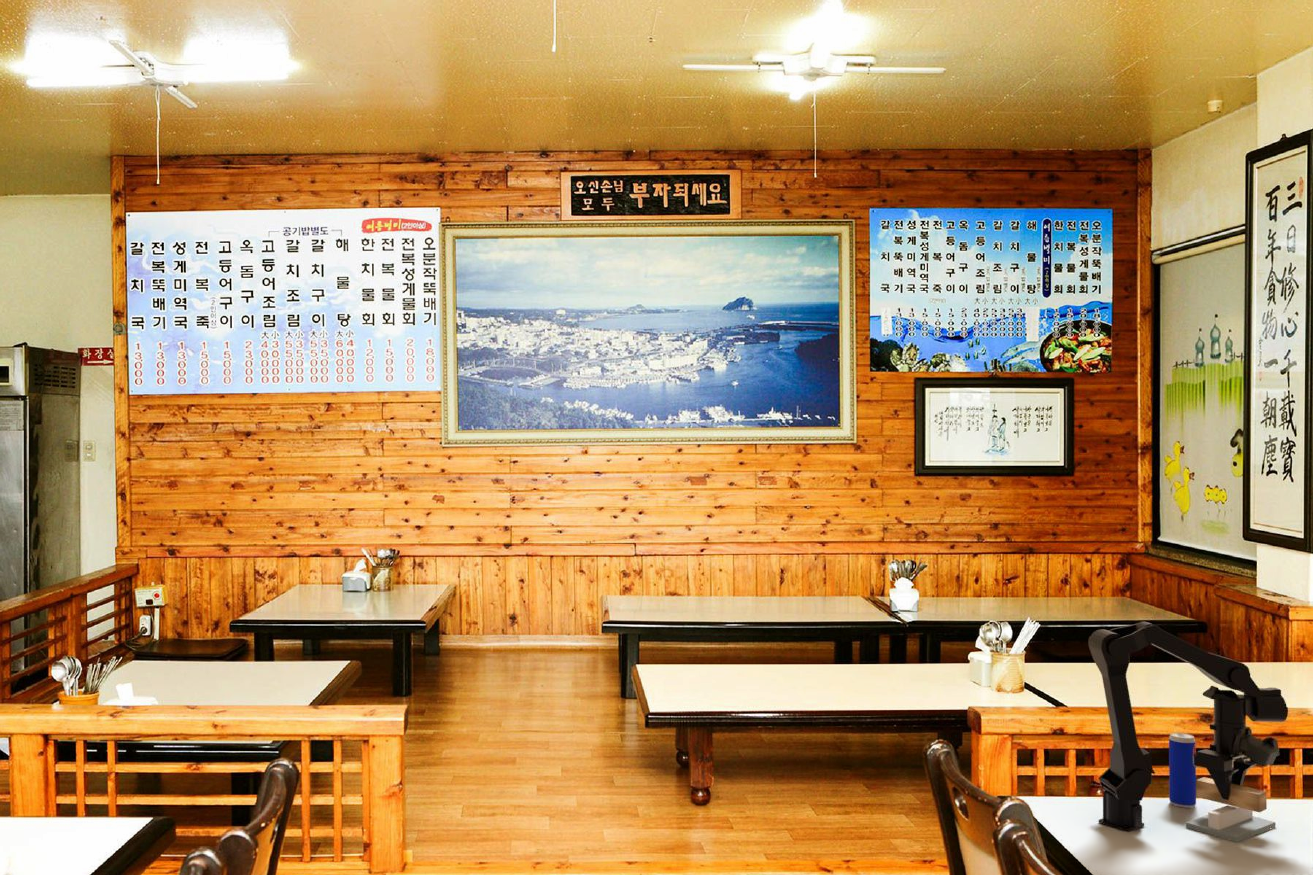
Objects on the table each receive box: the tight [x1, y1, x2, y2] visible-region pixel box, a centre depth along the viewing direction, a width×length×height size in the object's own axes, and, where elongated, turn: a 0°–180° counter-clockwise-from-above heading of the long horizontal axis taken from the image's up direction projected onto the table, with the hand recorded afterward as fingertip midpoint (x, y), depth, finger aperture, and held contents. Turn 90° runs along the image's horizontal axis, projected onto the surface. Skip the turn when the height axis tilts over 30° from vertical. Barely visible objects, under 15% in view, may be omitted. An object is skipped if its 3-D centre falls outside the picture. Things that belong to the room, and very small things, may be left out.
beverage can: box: [1168, 732, 1197, 809], centre depth 219 cm, size 5×5×15 cm
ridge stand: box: [1185, 804, 1276, 843], centre depth 205 cm, size 10×16×4 cm, turn 125°
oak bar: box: [1196, 776, 1268, 813], centre depth 205 cm, size 12×4×4 cm, turn 39°
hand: (1230, 797), depth 205 cm, fingers closed on oak bar, 4 cm apart
